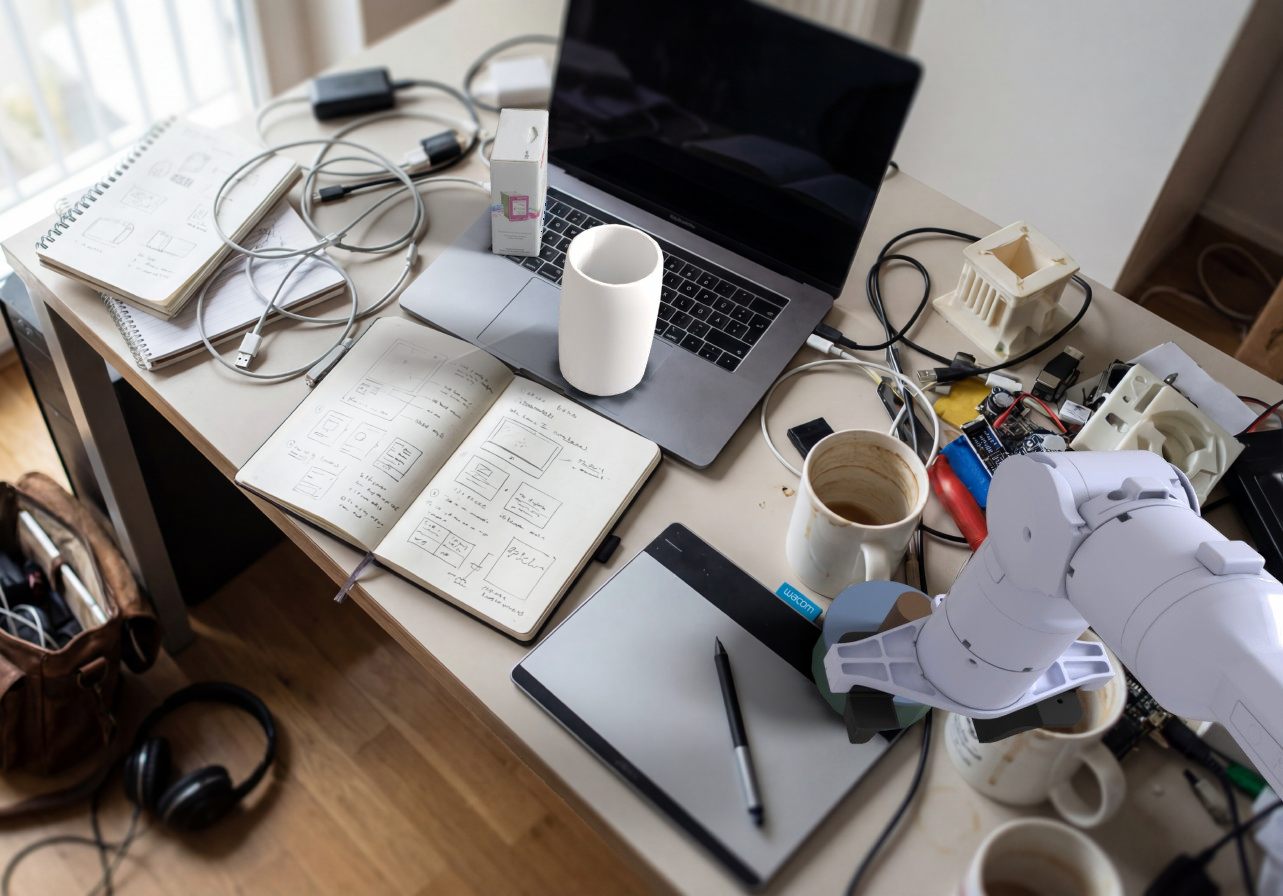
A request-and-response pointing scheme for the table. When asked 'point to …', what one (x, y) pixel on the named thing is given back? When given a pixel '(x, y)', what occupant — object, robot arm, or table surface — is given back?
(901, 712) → the container
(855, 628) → the lid
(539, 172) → the ink box
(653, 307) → the cup
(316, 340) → the table surface
